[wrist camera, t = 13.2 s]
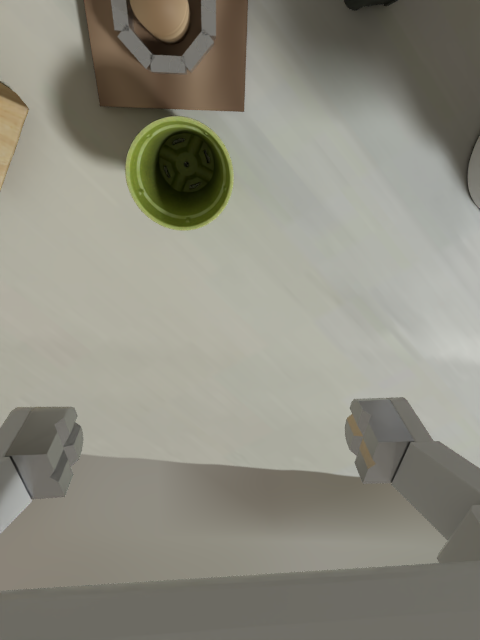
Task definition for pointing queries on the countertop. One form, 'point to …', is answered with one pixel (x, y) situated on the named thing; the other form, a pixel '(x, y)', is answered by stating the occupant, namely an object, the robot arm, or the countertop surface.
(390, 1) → the candle
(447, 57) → the countertop surface
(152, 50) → the walnut board
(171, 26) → the oak dowel
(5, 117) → the knife block
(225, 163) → the plant pot
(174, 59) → the steel ring
